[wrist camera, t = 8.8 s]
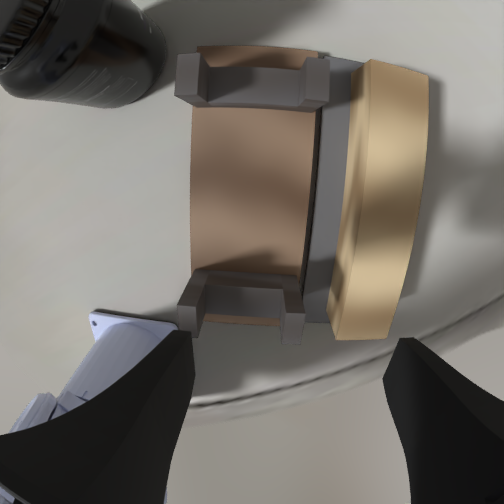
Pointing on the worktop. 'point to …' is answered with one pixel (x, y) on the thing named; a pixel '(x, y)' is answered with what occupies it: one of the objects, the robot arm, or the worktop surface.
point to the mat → (328, 190)
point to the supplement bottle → (78, 51)
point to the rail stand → (249, 182)
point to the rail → (378, 198)
